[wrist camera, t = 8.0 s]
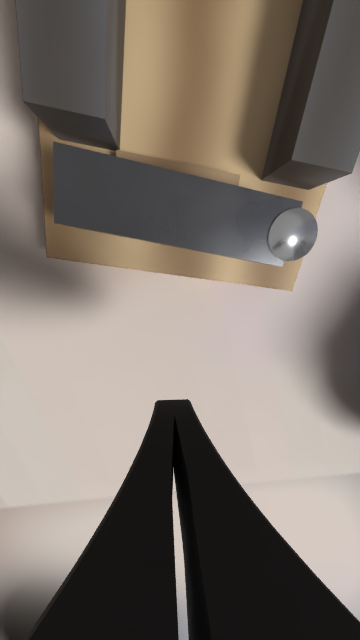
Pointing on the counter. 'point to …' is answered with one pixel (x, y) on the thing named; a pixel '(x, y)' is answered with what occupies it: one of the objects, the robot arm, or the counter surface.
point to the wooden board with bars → (195, 106)
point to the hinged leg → (177, 208)
